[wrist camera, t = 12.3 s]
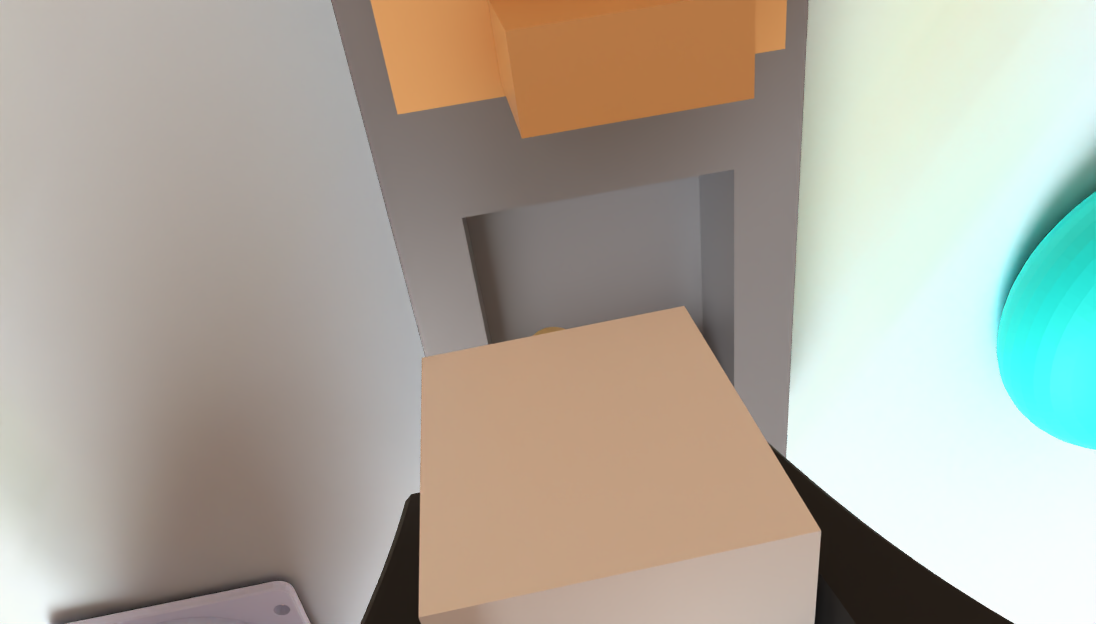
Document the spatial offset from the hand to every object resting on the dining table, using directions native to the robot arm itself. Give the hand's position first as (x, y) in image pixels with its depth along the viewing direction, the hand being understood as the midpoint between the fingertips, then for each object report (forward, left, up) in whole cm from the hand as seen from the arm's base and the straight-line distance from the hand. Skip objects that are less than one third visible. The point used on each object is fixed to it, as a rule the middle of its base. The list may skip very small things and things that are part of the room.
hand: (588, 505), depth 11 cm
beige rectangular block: (0, 0, -2) cm, 3 cm away
